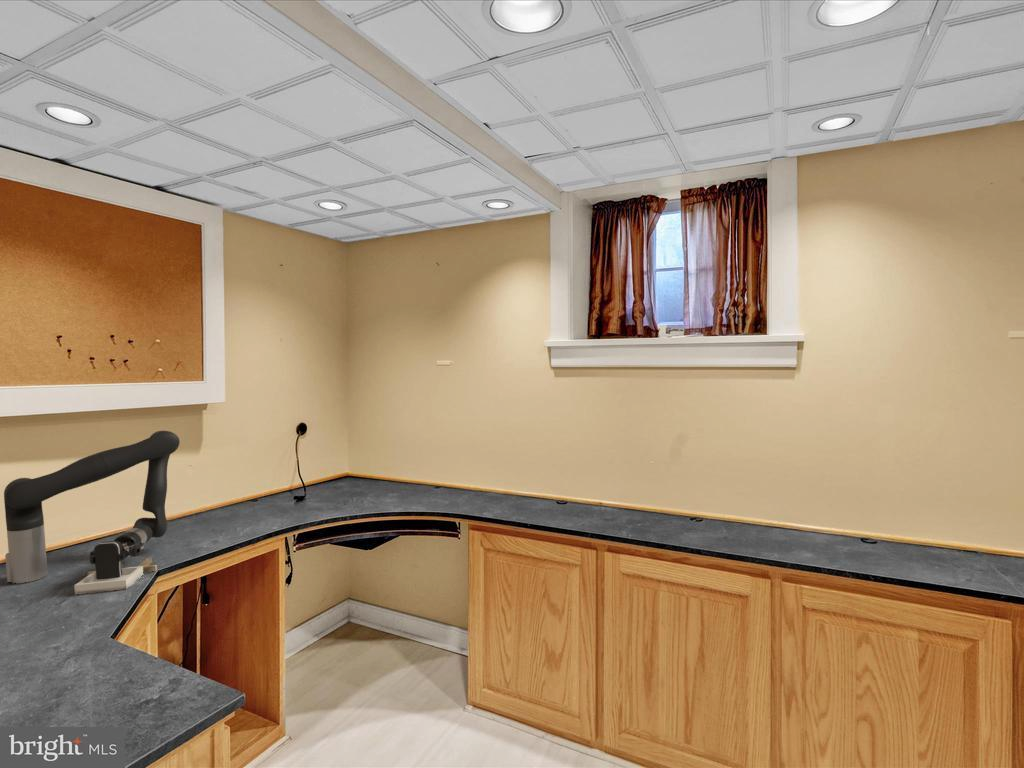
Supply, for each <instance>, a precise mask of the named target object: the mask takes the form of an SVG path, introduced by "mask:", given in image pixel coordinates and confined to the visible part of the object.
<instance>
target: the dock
mask: <svg viewBox="0 0 1024 768" xmlns="http://www.w3.org/2000/svg"><path fill="white" fill-rule="evenodd" d="M150 563H152V564H153V558H152V557H147V558H146V559H144V561H142V562H141V563H139V564H138V565H136V567H138V566H143V572H149V571H156V570H157V571H158V565H157V564H153V565H152V564H151V565H149V564H150ZM148 565H149V566H148ZM121 566H122V567H123V566H124V564H123V560H122V561H121ZM94 571H95V570H91V571H87V576H88V575H90V574H91V573H92V572H94ZM157 571H156V572H157Z"/></svg>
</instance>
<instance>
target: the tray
mask: <svg viewBox="0 0 1024 768" xmlns="http://www.w3.org/2000/svg"><path fill="white" fill-rule="evenodd" d="M137 566H138V567H137ZM137 566H130V567H121V569H122V575H121V577H119V578H112V579H99V580H97V579H96V570H93V571H94V572H92V573H91V574H90V575H88V574H87V576H85V577H84V578H82V579H81V580H80V581H78V582H77V583H75V584H74V586H73V588H74V595H75V596H78V595H77V594H79V595H85V594H86V593H88V594H96V593H95V592H98V593H104V592H103V591H107V592H114V590H117V591H125V590H124V589H126V590H128V589H129V588H130V587H132V586H133V585H134V584H135V583H136V582H137V581H138V580H139V579H140V578H142V577H143V576H144V573H143V566H139V565H137ZM142 575H143V576H142ZM141 576H142V577H141ZM138 578H139V579H138ZM137 579H138V580H137ZM136 580H137V581H136ZM135 581H136V582H135ZM134 582H135V583H134ZM129 586H130V587H129ZM128 587H129V588H128ZM127 588H128V589H127Z"/></svg>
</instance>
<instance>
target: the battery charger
mask: <svg viewBox="0 0 1024 768" xmlns="http://www.w3.org/2000/svg"><path fill="white" fill-rule="evenodd" d="M93 550H94V559H95V564H94V565H95V571H96V579H97V580H99V579H112V578H119V577H121V575H122V569H121V568H122V567H121V561H118V555H119V554H120V553H121V552H122V545H121V543H120V542H119V541H114V540H113V541H112V540H111V541H102V542H100V543H98V544H96V545H95V546H94V548H93Z"/></svg>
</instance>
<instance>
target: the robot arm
mask: <svg viewBox="0 0 1024 768" xmlns="http://www.w3.org/2000/svg"><path fill="white" fill-rule="evenodd" d="M179 446H180V438H179V436H178V435H177V434H176V433H174V432H173V431H170V430H169V431H168V430H157V431H155V432H154V433H152V434H150V436H149V437H147V438H146V439H144V440H141V441H139V442H136V443H132V444H130V445H129V444H128V445H125V446H118V447H116V448H114V447H113V448H110V449H105V450H102V451H99V452H95V453H93V454H90V455H88V456H87V455H86V456H85V457H82V458H80V459H78V460H76V461H74V462H72V463H70V464H68V465H66V466H65V467H63V468H61V469H58V470H57V471H54V472H51V473H48V474H45V475H42V476H41V475H40V476H38V477H35V478H30V477H20V478H15V479H13V480H12V481H10V482H9V483H8V484H7V485H6V486H5V488H4V491H3V500H4V512H5V523H6V526H5V527H6V537H7V547H8V549H7V550H8V552H7V553H6V554H5V569H6V571H5V572H6V583H7V582H12V583H11V584H15V583H16V584H25V582H26V583H31V582H33V581H34V582H35V581H37V580H41V579H44V578H45V577H46V576H48V565H47V563H48V562H47V561H48V560H47V550H46V549H47V548H46V536H45V535H46V533H45V521H44V519H45V518H44V512H43V502H44V501H47V500H49V499H50V498H53V497H55V496H57V495H59V494H62V493H65V492H67V491H71V490H74V489H77V488H80V487H83V486H86V485H90V484H92V483H95V482H98V481H100V480H104V479H106V478H110V477H111V476H113V475H117V474H119V473H121V472H123V471H126V470H128V469H131V468H132V467H134V466H137V465H138V464H141V463H145V462H147V461H148V466H147V467H148V468H147V475H146V476H147V477H146V481H145V487H144V492H143V493H144V494H143V501H142V510H143V511H144V512H149V513H151V514H153V515H154V517H140V518H138V519H136V521H135V522H134V525H133V526H132V528H130V529H128V530H126V531H124V532H123V533H122V534H120V535H119V536H117V537H116V538H115V539H114V540H113V541H119V542H120V543H121V545H122V552H121V553H120V554H119V555H118V561H122V562H123V560H125V559H126V558H130V557H131V556H132V557H136V556H138V555H140V554H141V553H143V551H145V544H146V543H148V542H149V541H150V540H151V539H152V538H153V539H154V538H161V537H163V536H164V535H165V534H166V532H167V530H168V522H167V517H166V506H165V505H166V499H167V493H168V464H169V460H170V456H171V454H174V453H175V452H176V450H178V448H179ZM89 563H90V564H91V565H95V559H94V549H93V550H91V551H90V552H89Z"/></svg>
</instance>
